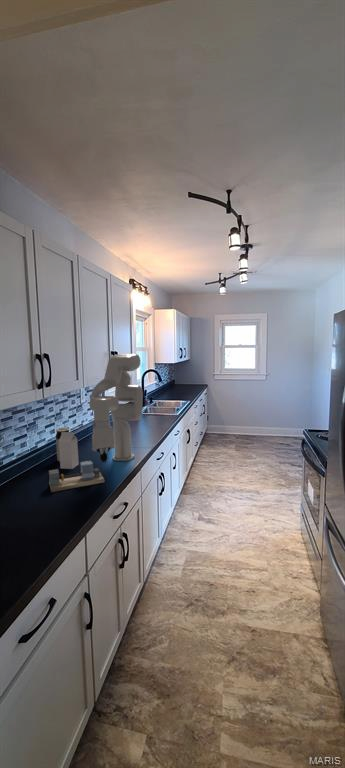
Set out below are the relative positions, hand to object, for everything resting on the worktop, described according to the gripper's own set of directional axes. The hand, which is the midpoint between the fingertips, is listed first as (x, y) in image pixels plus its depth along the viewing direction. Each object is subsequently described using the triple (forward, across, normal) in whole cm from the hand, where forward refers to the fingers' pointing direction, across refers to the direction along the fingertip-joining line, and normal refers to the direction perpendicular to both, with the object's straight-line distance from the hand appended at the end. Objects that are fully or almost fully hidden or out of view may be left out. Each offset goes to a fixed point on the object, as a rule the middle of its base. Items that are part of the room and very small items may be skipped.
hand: (103, 461), depth 168 cm
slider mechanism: (+9, -13, +1) cm, 16 cm away
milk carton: (+8, -13, +27) cm, 31 cm away
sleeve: (+7, -8, +1) cm, 11 cm away
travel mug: (+8, -14, +41) cm, 44 cm away
